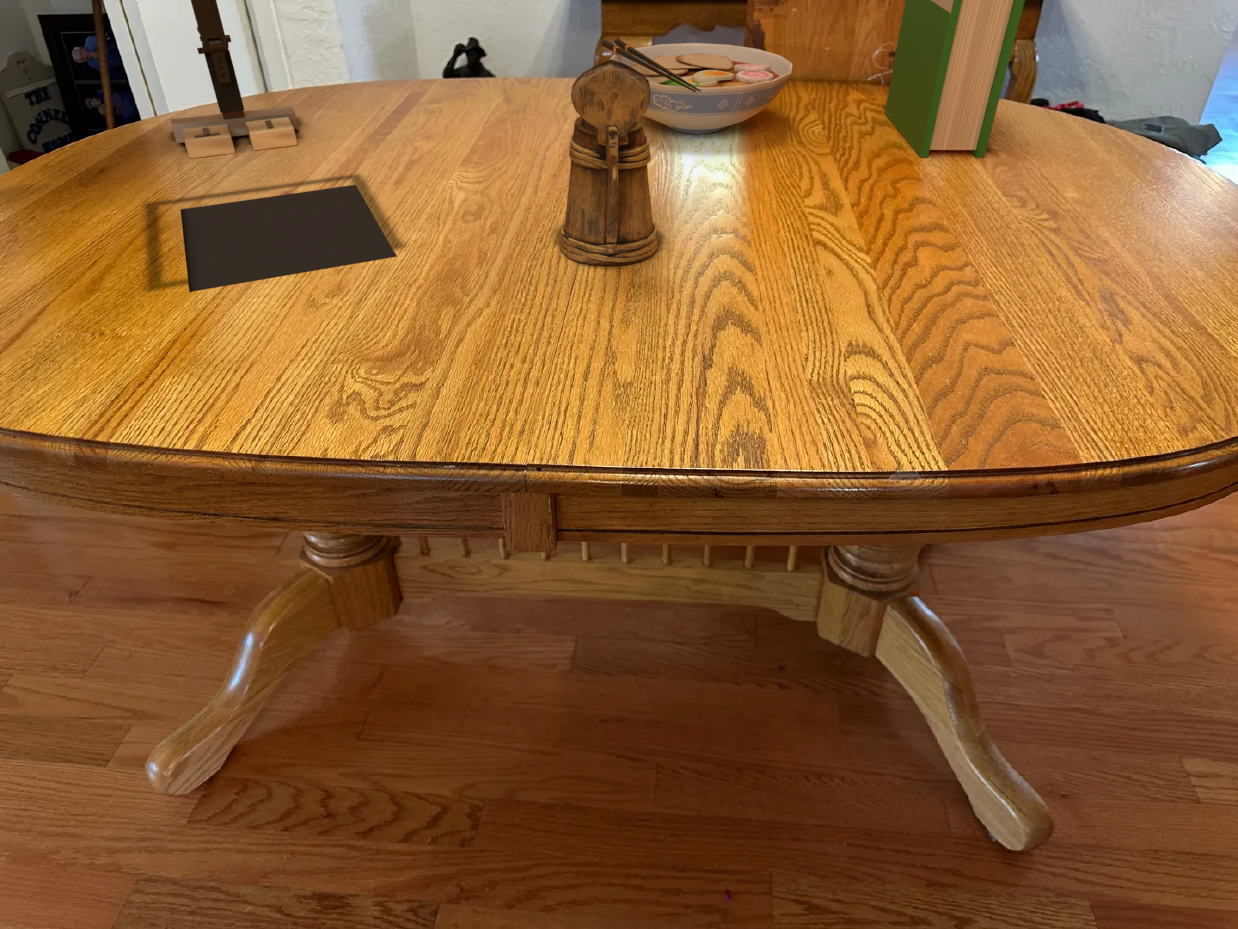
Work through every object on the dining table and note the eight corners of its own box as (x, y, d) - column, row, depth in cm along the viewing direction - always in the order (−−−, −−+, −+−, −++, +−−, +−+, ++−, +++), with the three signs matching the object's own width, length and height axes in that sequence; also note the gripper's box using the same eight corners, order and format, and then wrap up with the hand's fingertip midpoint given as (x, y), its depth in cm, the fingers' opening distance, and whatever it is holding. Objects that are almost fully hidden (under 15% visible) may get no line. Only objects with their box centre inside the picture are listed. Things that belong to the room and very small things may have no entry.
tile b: (249, 138, 104) (244, 120, 103) (292, 133, 106) (287, 115, 104) (253, 150, 100) (249, 132, 99) (297, 145, 102) (293, 127, 101)
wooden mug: (557, 291, 72) (547, 60, 61) (561, 227, 82) (552, 21, 71) (663, 290, 72) (672, 59, 61) (653, 226, 83) (659, 20, 72)
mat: (153, 214, 85) (153, 213, 85) (356, 185, 92) (355, 184, 92) (157, 298, 71) (156, 296, 71) (396, 257, 77) (396, 255, 77)
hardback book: (984, 157, 99) (1047, -89, 84) (919, 157, 99) (972, -89, 84) (940, 113, 113) (989, -104, 98) (884, 113, 113) (924, -104, 98)
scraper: (175, 136, 103) (142, 26, 96) (295, 122, 108) (272, 16, 101) (176, 143, 101) (142, 31, 94) (298, 128, 106) (275, 21, 98)
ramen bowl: (826, 143, 103) (837, 70, 98) (652, 167, 96) (654, 90, 91) (730, 92, 121) (735, 28, 116) (578, 108, 114) (576, 42, 109)
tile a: (187, 146, 102) (182, 128, 101) (231, 140, 103) (227, 122, 102) (189, 158, 98) (184, 140, 97) (235, 153, 100) (230, 134, 99)
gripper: (212, -127, 84) (271, 120, 98) (202, -136, 95) (256, 88, 109) (128, -125, 81) (201, 128, 96) (128, -135, 93) (194, 94, 107)
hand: (231, 106), depth 103 cm, fingers closed on scraper, 2 cm apart
